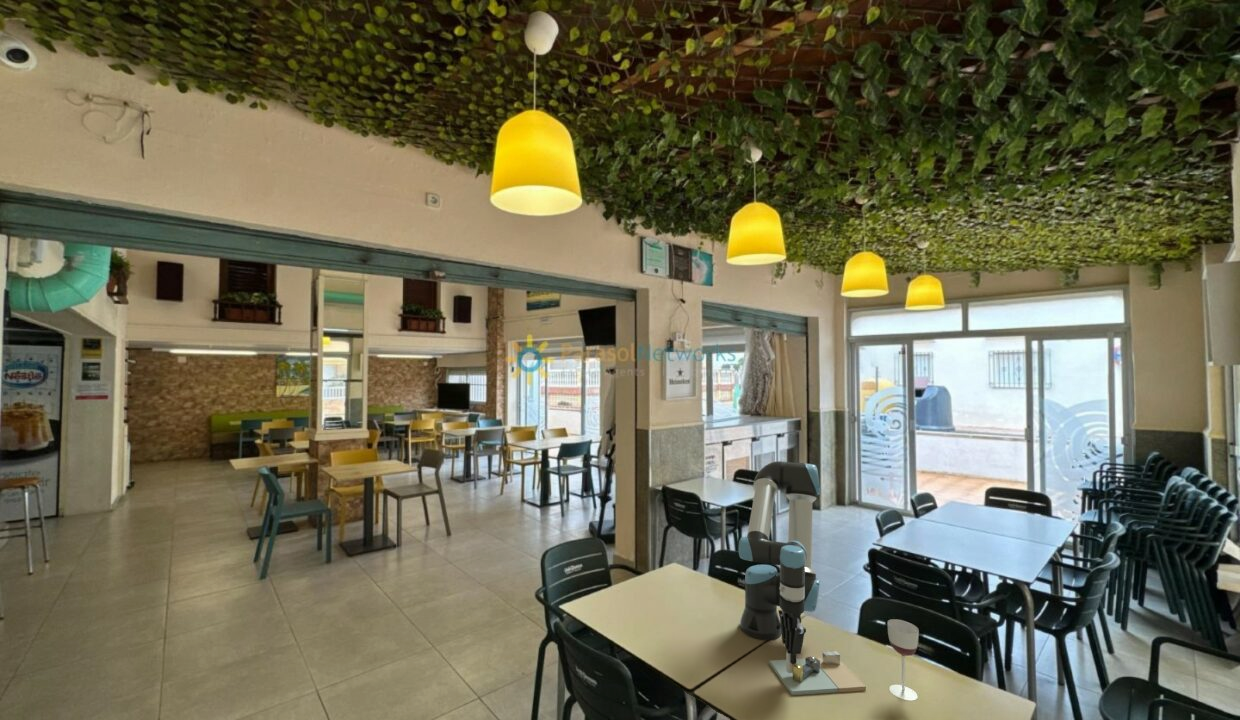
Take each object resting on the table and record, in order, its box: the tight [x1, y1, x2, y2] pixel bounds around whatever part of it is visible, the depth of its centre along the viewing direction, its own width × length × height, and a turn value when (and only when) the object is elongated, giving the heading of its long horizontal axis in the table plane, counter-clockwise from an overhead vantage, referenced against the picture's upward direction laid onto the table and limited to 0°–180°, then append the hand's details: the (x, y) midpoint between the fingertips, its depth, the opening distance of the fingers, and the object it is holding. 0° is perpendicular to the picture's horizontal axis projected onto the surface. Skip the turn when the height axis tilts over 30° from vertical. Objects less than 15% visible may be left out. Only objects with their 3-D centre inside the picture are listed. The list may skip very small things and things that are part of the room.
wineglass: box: [887, 618, 920, 702], centre depth 151 cm, size 8×9×20 cm
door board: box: [769, 657, 867, 696], centre depth 158 cm, size 16×24×1 cm, turn 97°
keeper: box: [822, 650, 841, 665], centre depth 163 cm, size 2×5×3 cm, turn 97°
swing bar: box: [793, 656, 820, 682], centre depth 157 cm, size 13×4×4 cm, turn 130°
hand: (791, 671), depth 156 cm, fingers closed
